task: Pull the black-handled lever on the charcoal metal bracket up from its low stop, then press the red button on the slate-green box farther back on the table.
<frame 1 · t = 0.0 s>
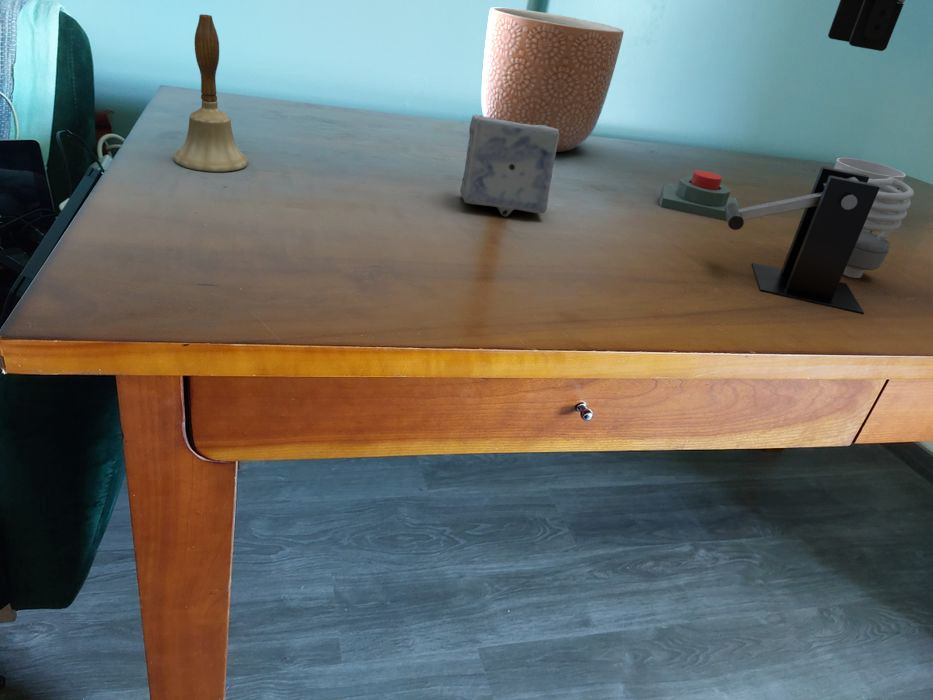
hand: (854, 44, 71), 24 cm above the table, tool pointing down, fingers open, 9 cm apart
lever: (790, 204, 72), point 9 cm above the table, hinge at -25.0°
bracket: (800, 296, 76), on the table
button box: (696, 213, 98), on the table
cup: (839, 242, 97), on the table
planter: (533, 144, 121), on the table
hand bell: (211, 163, 86), on the table
button: (706, 181, 96), point 4 cm above the table, slide at 0.1 cm
incense holder: (500, 208, 88), on the table
light bulb: (845, 282, 83), on the table
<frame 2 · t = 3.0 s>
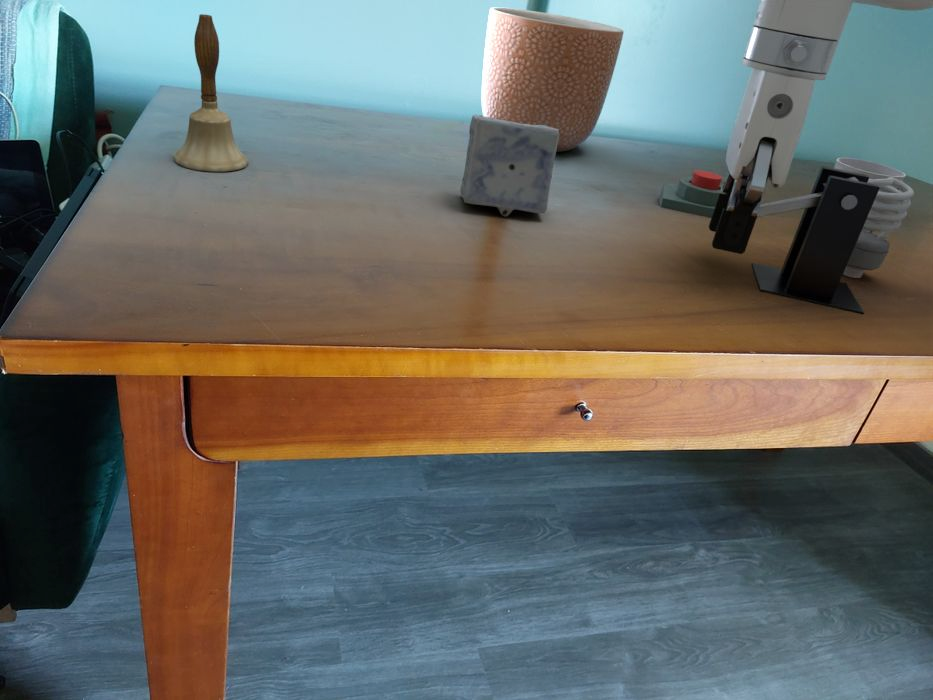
hand: (725, 239, 75), 4 cm above the table, tool pointing down, fingers closed on lever, 5 cm apart
lever: (790, 204, 72), point 9 cm above the table, hinge at -25.0°, touching gripper
everything else where it was.
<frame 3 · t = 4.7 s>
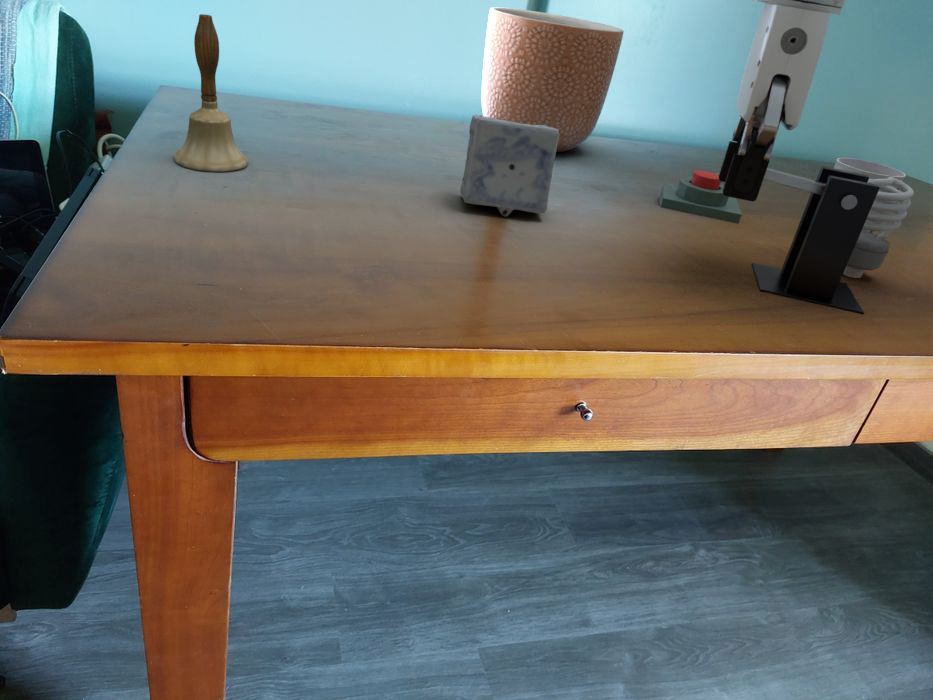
hand: (736, 188, 73), 10 cm above the table, tool pointing down, fingers closed on lever, 5 cm apart
lever: (794, 181, 71), point 11 cm above the table, hinge at 3.7°, touching gripper
everything else where it was.
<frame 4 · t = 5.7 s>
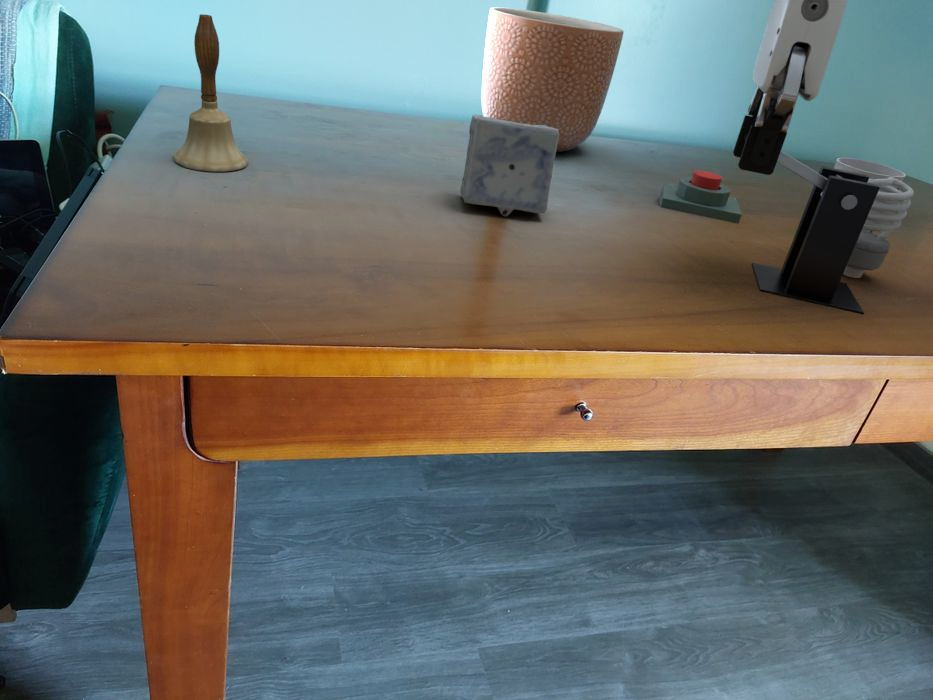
hand: (751, 162, 71), 12 cm above the table, tool pointing down, fingers closed on lever, 5 cm apart
lever: (801, 169, 71), point 13 cm above the table, hinge at 18.8°, touching gripper
everything else where it was.
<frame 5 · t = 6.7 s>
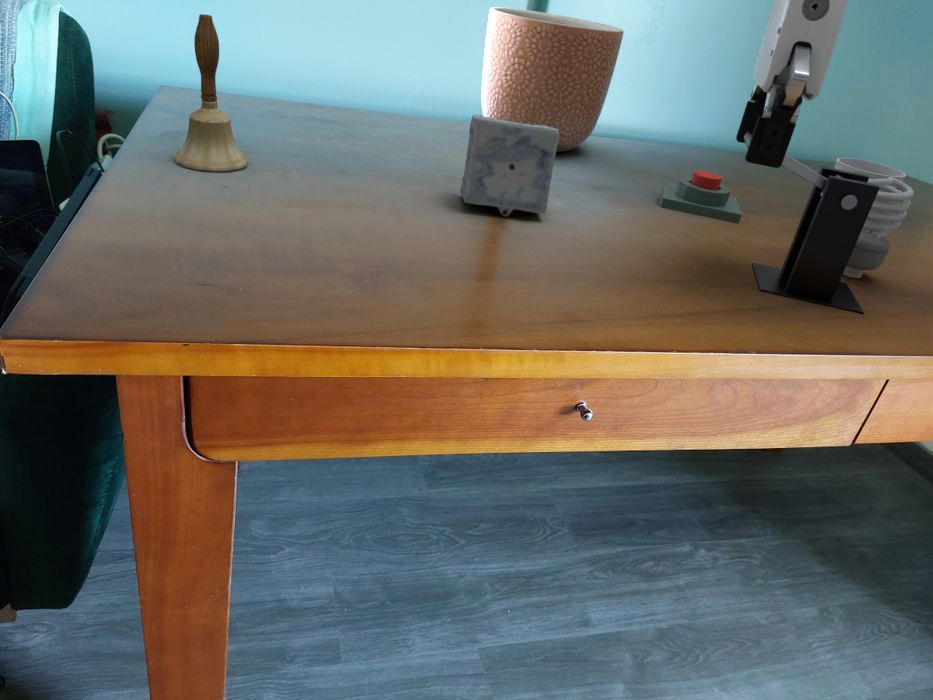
hand: (756, 153, 71), 13 cm above the table, tool pointing down, fingers open, 9 cm apart
lever: (801, 170, 71), point 12 cm above the table, hinge at 18.4°
everything else where it was.
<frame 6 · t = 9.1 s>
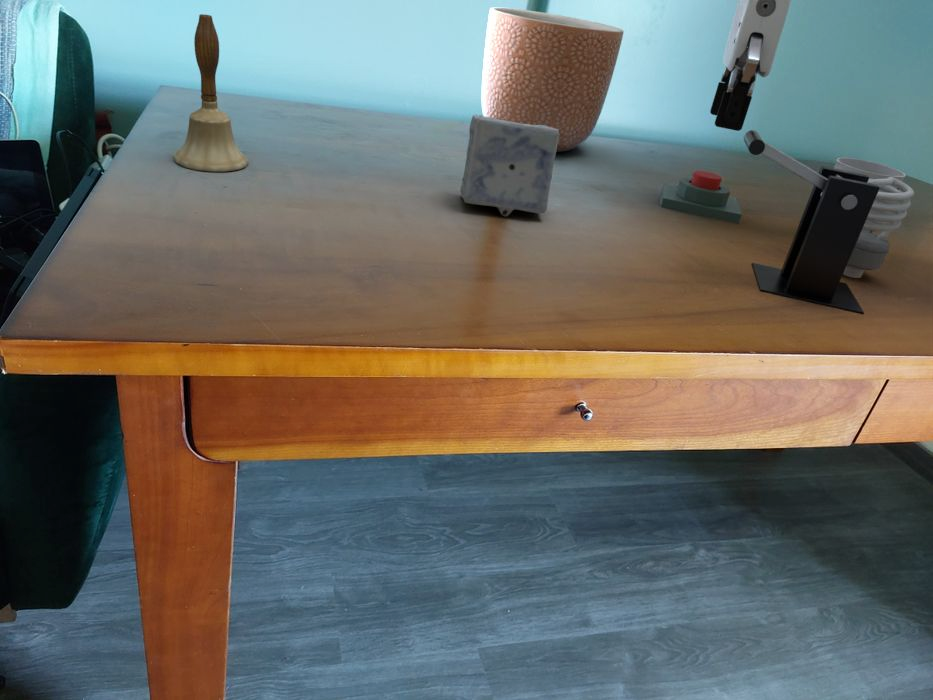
hand: (724, 121, 92), 12 cm above the table, tool pointing down, fingers open, 8 cm apart
nothing on the table moved.
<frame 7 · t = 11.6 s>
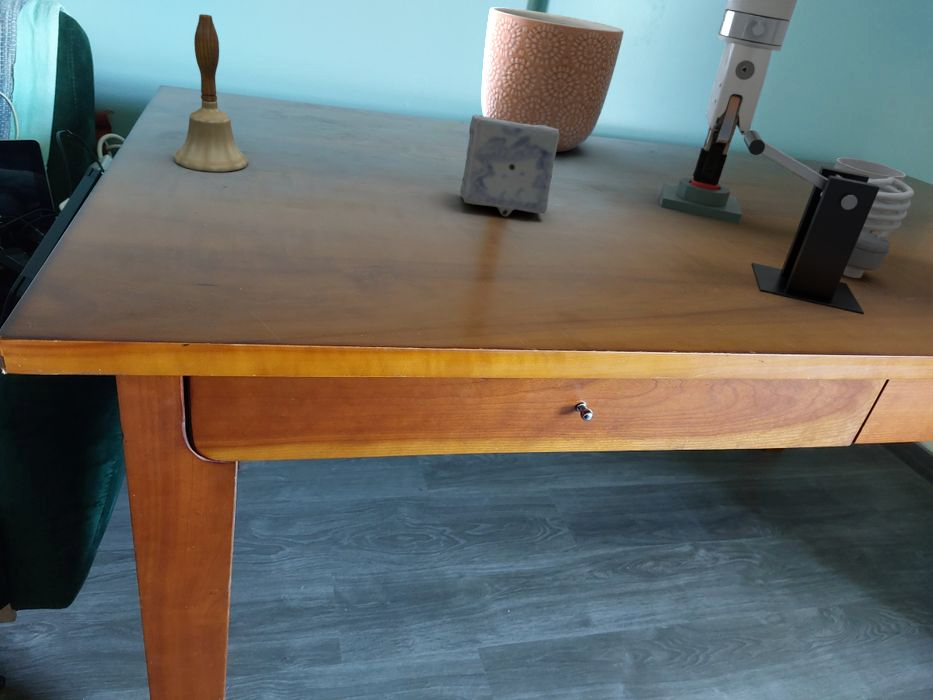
hand: (704, 181, 96), 4 cm above the table, tool pointing down, fingers closed
button: (703, 188, 96), point 4 cm above the table, slide at -0.9 cm, touching gripper
everything else where it was.
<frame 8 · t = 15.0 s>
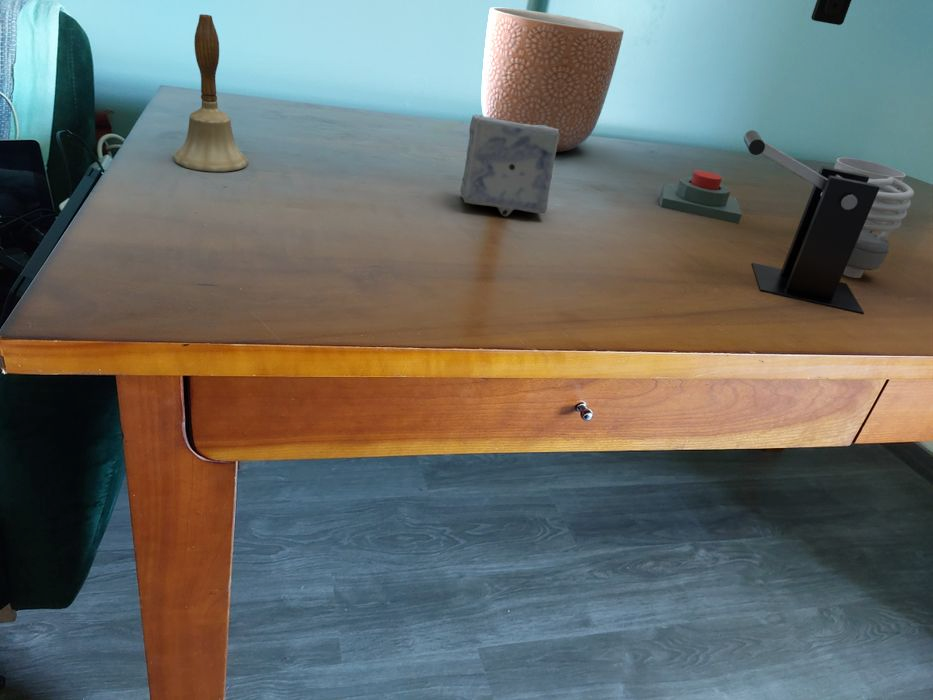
hand: (826, 22, 82), 25 cm above the table, tool pointing down, fingers closed
button: (706, 181, 96), point 4 cm above the table, slide at 0.1 cm
everything else where it was.
at the end: lever at +18° (first picture: -25°); button pushed in 1.1 cm at the most during the clip, back to where it started at the end; button slide at 0.1 cm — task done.
